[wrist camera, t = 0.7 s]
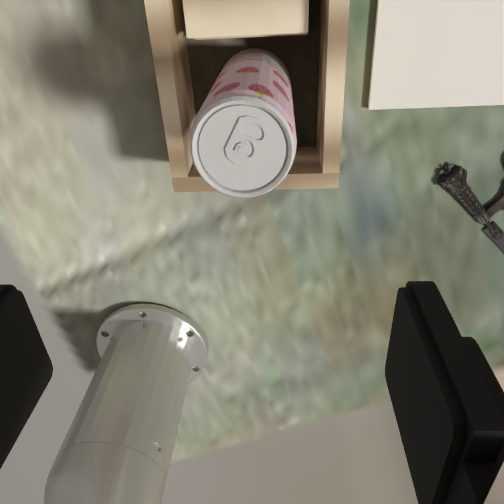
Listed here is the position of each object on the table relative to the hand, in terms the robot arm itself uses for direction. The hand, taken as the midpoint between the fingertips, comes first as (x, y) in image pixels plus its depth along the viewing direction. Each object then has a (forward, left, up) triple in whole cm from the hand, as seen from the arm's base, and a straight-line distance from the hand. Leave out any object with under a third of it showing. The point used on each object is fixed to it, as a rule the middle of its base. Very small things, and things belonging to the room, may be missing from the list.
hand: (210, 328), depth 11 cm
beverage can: (0, 0, -28) cm, 28 cm away
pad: (+4, -15, -28) cm, 32 cm away
